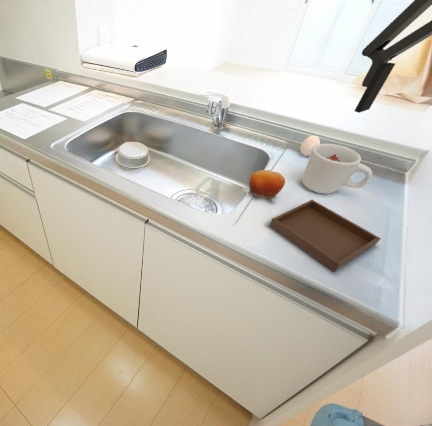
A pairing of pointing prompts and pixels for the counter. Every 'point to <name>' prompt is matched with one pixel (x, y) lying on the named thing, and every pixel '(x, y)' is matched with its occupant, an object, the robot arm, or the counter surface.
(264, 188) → the fruit
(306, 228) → the tray
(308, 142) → the egg
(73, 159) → the counter surface
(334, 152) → the cup
